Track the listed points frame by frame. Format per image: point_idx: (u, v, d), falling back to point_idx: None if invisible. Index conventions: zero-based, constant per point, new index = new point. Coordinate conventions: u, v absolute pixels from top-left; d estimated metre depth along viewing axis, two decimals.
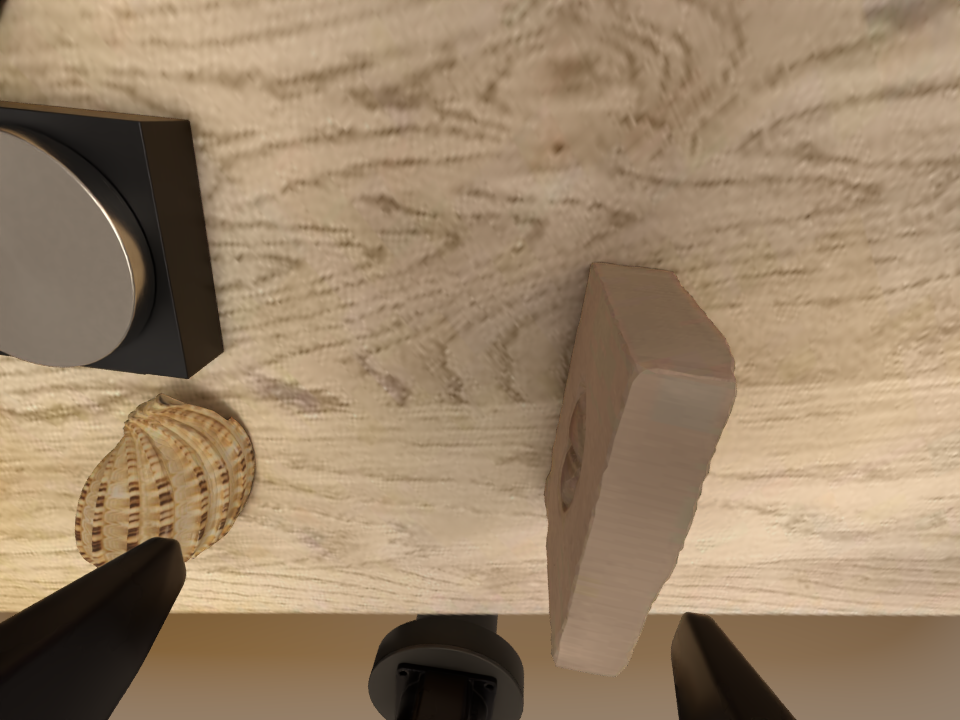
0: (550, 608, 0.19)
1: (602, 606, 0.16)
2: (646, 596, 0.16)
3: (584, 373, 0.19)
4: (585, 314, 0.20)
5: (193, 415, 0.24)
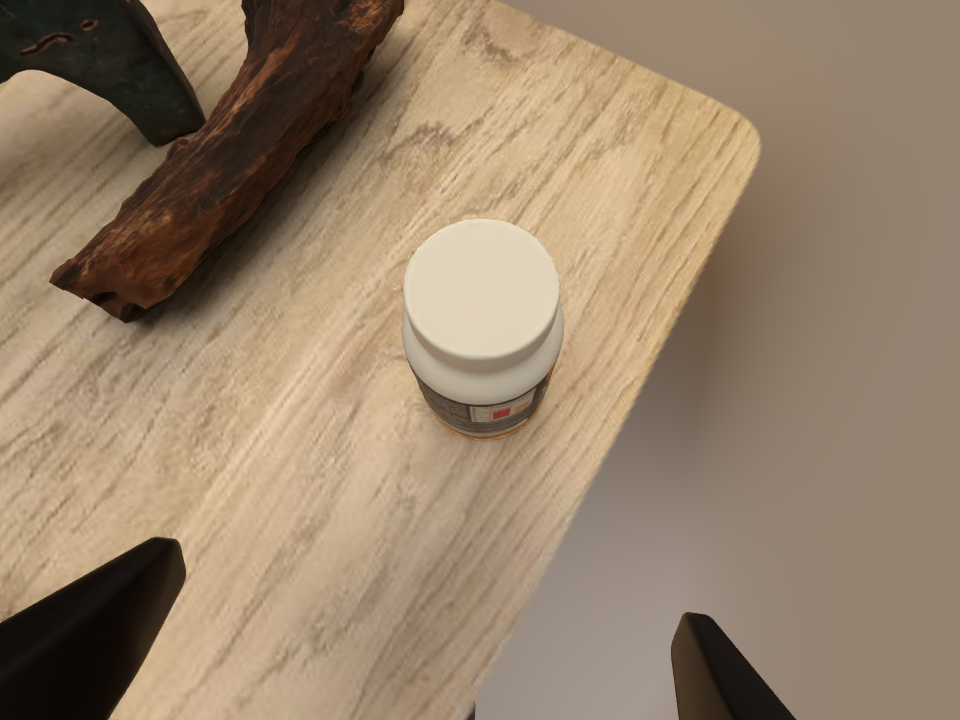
0: None
1: None
2: None
3: None
4: None
5: None
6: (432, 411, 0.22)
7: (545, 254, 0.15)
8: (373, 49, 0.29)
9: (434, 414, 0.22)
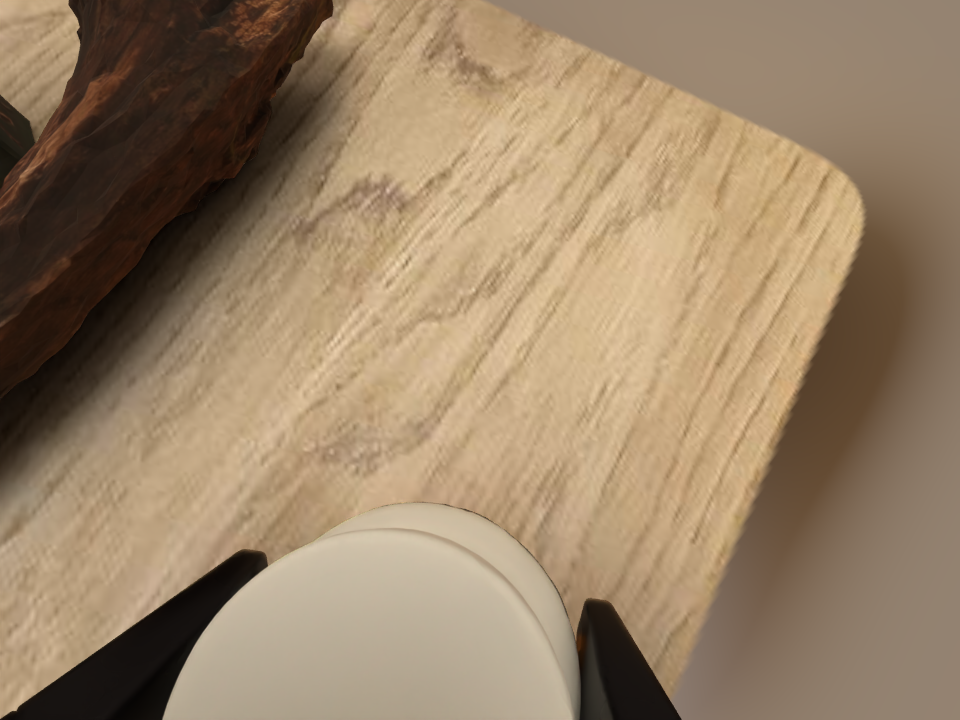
0: None
1: None
2: None
3: None
4: None
5: None
6: None
7: (537, 654, 0.06)
8: (286, 69, 0.19)
9: None
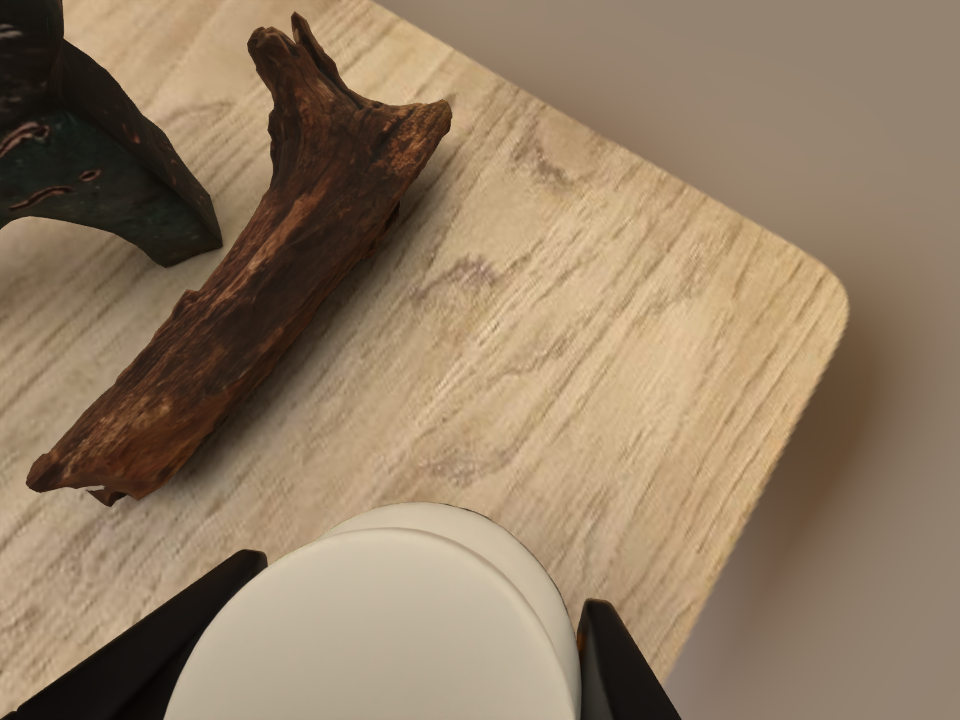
0: None
1: None
2: None
3: None
4: None
5: None
6: None
7: (538, 653, 0.06)
8: None
9: None
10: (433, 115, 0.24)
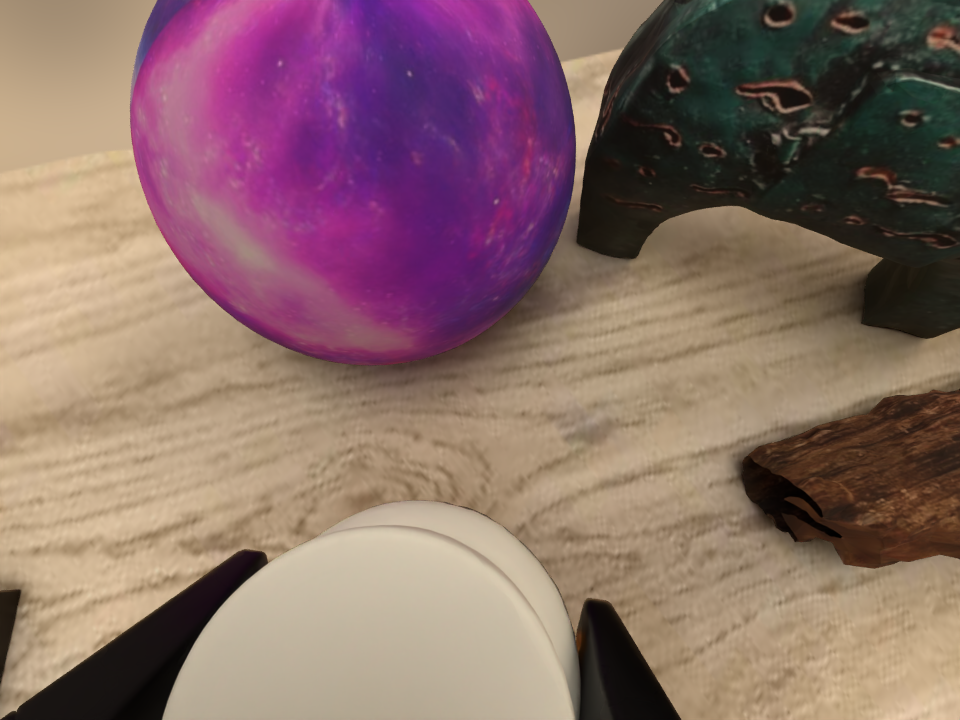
0: None
1: None
2: None
3: None
4: None
5: None
6: None
7: (537, 651, 0.06)
8: None
9: None
10: None
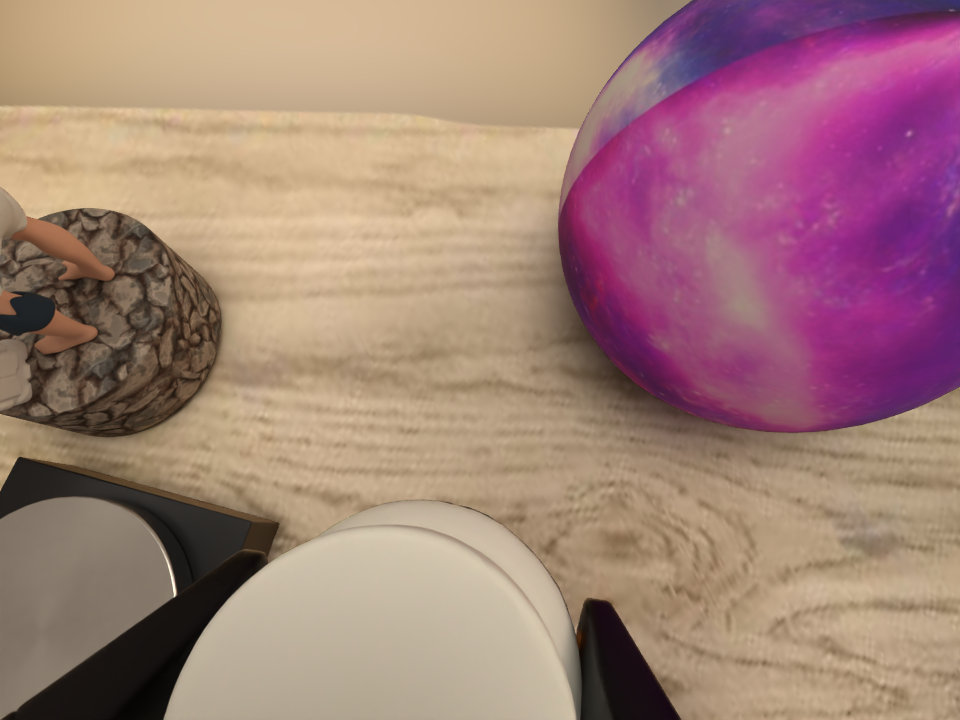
0: None
1: None
2: None
3: None
4: None
5: None
6: None
7: (539, 650, 0.06)
8: None
9: None
10: None
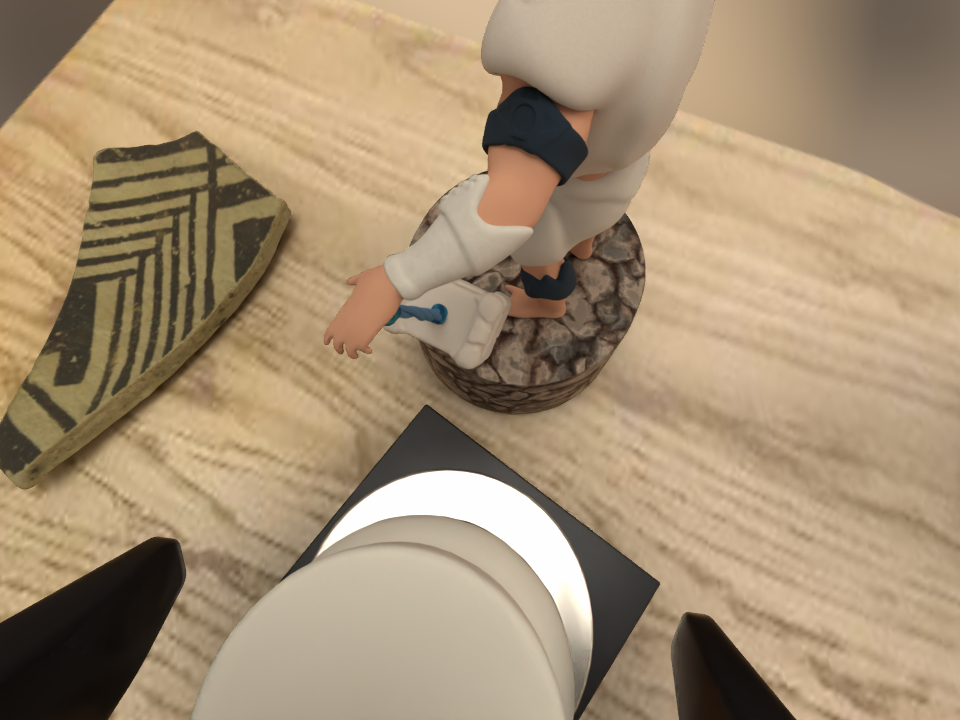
0: None
1: None
2: None
3: None
4: None
5: None
6: None
7: (531, 659, 0.06)
8: None
9: None
10: None
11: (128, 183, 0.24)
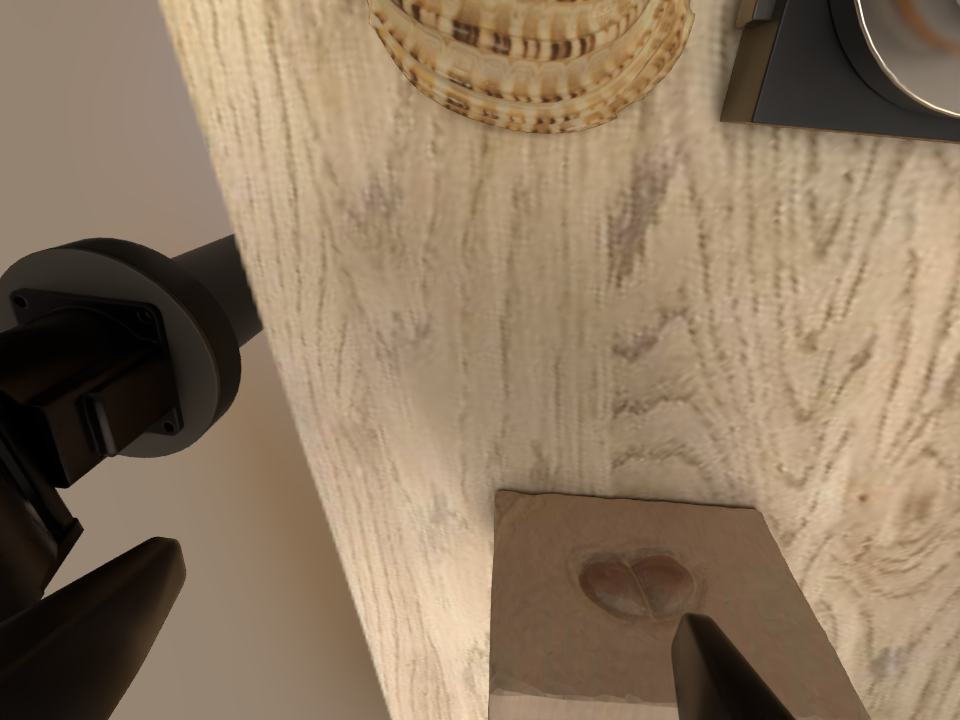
0: (499, 630, 0.18)
1: None
2: None
3: (701, 560, 0.21)
4: (725, 525, 0.22)
5: (652, 78, 0.15)
6: None
7: None
8: None
9: None
10: None
11: None
